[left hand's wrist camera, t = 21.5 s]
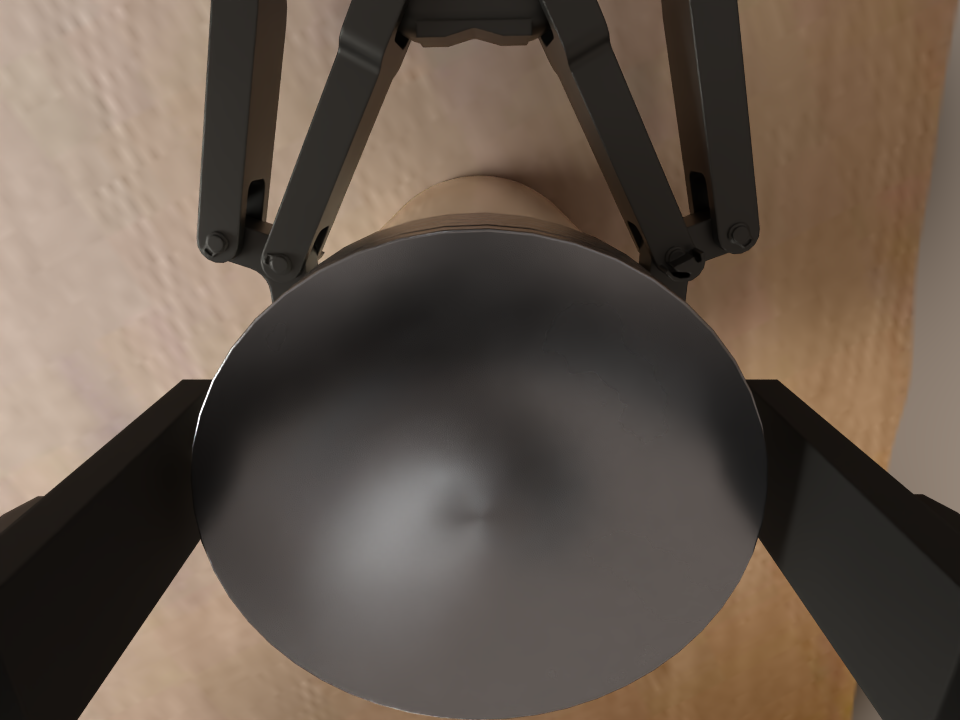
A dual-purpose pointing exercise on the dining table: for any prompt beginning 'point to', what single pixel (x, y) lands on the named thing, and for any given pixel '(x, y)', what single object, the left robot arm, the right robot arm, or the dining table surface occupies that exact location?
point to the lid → (479, 469)
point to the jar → (479, 201)
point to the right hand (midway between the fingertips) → (481, 449)
